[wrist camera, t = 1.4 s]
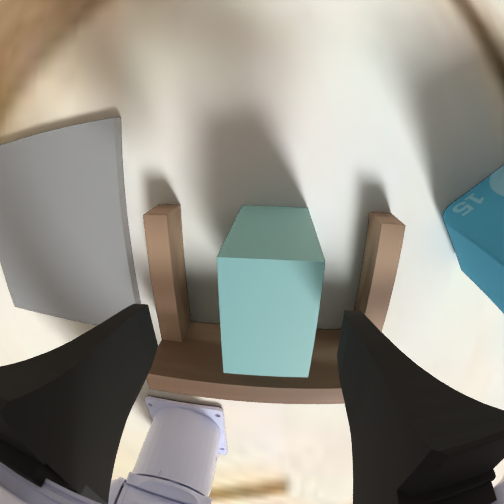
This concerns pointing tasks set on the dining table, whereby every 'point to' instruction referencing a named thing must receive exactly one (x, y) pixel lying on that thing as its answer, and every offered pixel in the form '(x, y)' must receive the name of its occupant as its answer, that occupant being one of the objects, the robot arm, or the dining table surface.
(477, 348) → the dining table surface
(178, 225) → the bay
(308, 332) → the block
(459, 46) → the dining table surface
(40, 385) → the robot arm
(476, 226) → the data package
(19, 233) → the board
